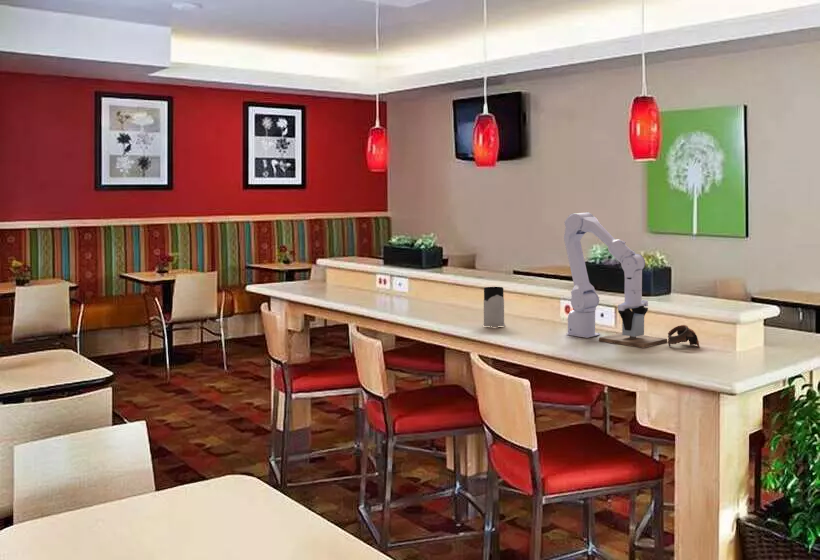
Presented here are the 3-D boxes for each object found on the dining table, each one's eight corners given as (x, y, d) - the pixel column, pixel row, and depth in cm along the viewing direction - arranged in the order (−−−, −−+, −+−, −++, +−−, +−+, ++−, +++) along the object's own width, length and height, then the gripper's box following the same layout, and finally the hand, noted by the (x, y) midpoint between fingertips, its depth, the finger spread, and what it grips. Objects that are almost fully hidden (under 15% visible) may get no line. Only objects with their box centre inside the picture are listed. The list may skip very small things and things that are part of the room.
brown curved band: (703, 351, 282) (692, 330, 280) (676, 362, 285) (665, 342, 283) (698, 335, 293) (687, 315, 291) (671, 346, 296) (661, 327, 294)
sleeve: (622, 334, 297) (622, 314, 297) (631, 332, 301) (631, 313, 300) (635, 336, 294) (635, 316, 293) (644, 334, 297) (644, 314, 296)
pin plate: (598, 340, 300) (598, 327, 299) (623, 335, 309) (623, 322, 308) (643, 347, 286) (643, 334, 286) (667, 342, 295) (667, 328, 295)
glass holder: (487, 328, 329) (486, 289, 327) (475, 323, 342) (474, 285, 341) (508, 327, 331) (508, 288, 329) (496, 321, 345) (495, 284, 343)
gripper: (630, 293, 288) (630, 333, 289) (655, 288, 297) (655, 327, 299) (612, 291, 293) (612, 330, 295) (638, 287, 302) (637, 325, 304)
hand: (632, 329), depth 297 cm, fingers closed on sleeve, 5 cm apart
